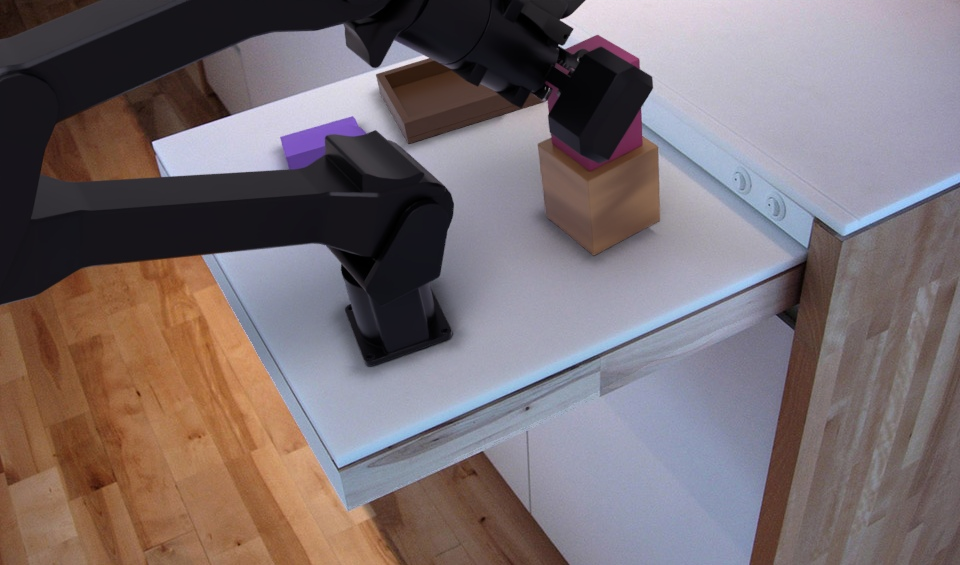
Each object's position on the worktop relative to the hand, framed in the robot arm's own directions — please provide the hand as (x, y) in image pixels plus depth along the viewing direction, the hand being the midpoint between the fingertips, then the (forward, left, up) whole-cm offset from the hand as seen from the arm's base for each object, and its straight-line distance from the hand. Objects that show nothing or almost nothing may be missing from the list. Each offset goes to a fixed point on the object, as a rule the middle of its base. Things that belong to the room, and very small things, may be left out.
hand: (610, 104), depth 74 cm
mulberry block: (0, +1, -3) cm, 3 cm away
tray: (+23, +5, -10) cm, 25 cm away
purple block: (+17, +19, -10) cm, 28 cm away
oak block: (0, +1, -10) cm, 10 cm away
